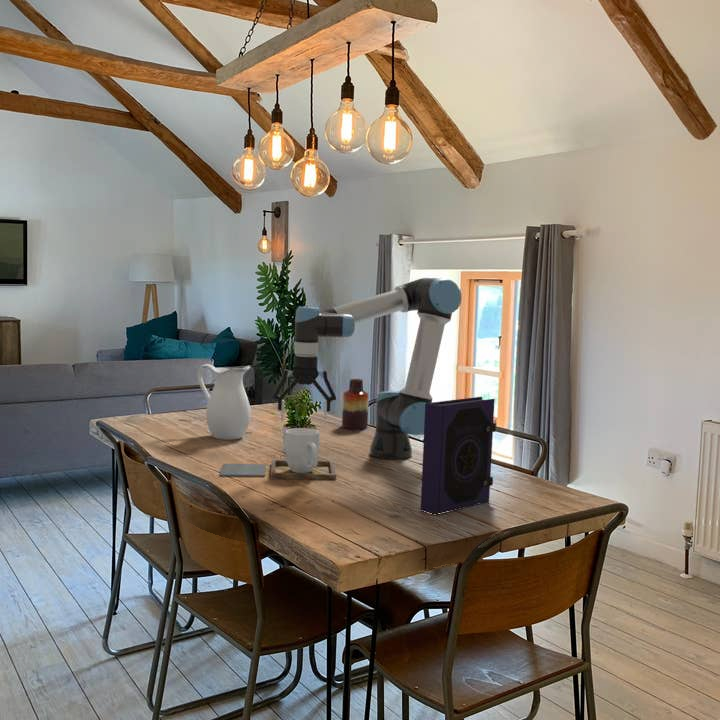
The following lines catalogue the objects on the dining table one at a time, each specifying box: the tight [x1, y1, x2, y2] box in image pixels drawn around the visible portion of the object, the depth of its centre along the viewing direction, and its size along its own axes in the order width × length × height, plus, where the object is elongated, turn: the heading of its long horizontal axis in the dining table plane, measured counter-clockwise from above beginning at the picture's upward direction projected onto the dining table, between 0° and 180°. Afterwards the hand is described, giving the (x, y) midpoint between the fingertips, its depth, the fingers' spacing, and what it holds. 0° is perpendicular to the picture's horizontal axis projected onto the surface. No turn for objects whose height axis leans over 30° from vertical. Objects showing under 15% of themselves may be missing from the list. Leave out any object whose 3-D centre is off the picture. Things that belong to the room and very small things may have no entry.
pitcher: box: [196, 363, 251, 441], centre depth 299 cm, size 24×17×28 cm
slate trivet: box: [219, 463, 267, 478], centre depth 248 cm, size 14×14×1 cm
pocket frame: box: [270, 459, 337, 480], centre depth 250 cm, size 20×18×2 cm
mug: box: [284, 427, 320, 473], centre depth 248 cm, size 15×11×13 cm
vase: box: [341, 378, 370, 431], centre depth 326 cm, size 11×11×20 cm
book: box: [420, 396, 497, 514], centre depth 216 cm, size 24×6×30 cm, turn 132°
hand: (303, 421), depth 248 cm, fingers open, 13 cm apart
